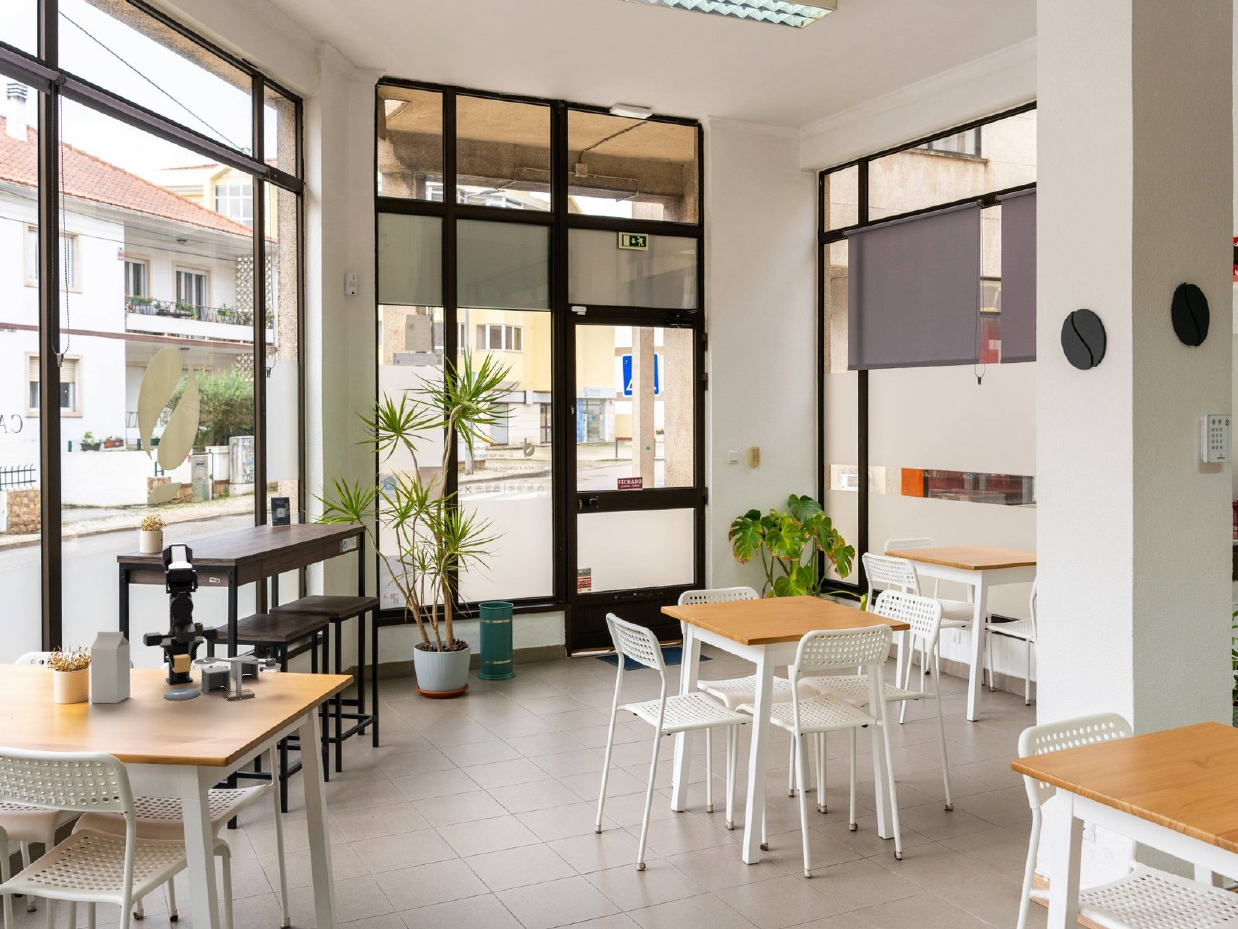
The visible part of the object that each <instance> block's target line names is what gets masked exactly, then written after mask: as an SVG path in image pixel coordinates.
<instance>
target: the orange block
mask: <svg viewBox="0 0 1238 929" xmlns="http://www.w3.org/2000/svg"><path fill="white" fill-rule="evenodd" d="M191 666H192V663H191V657H190V656H189V655H188V654H184V655H176V656H174V668H172V670H173V671H174V672H175V673H178V672H186V671H190V672H191V668H192V667H191Z"/></svg>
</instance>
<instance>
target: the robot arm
mask: <svg viewBox="0 0 1238 929" xmlns="http://www.w3.org/2000/svg"><path fill="white" fill-rule="evenodd" d="M193 551H194V550H193V549H192V548H191V547H189V546H188V544H187V543H185V542H179V543H178V542H177V543H170V544H168V547H166V548H165V549H163V550H162V552H161V554H162V555H161V561H162V562H161V563H162V567H164V574H165V594H166V595H167V594H170V595H169V631H168V632H167V633H166V634H162V633H160V631H155V632H147V633H146V632H145V633H144V634H143V636H142V644H144V646H146V647H157V646H159V648H161V649H163V663H164V664H167V663H168V677H166V678H165V681H166V682H167V683H168V684H169V685H174V684H175V685H176V684H182V683H191V682H194V679H193V677H191V676H190V675H191V674H190V673H191V671H186V672H178V673H175V672H174V671H173V670H172V668H174V656H176V655H184V654H188V655H189V656H190V657H191V664H192V663H193V662H194V661H195V660H198V657H197V653H198V649H199V647H200V645H202V644H204V643H205V641H204V639H205V640H206V641H211V640H213V641H214V640H218V639H219V631H218V629H216V628H215V627H213V626H204V624H203V622H202V621H200V622H199V621H198V622H195V623H194V621H193V611H194V607H195V606H194V603H193V596H192V593H197V589H199V576H198V573H197V571H196V570H195V569H194V568H193V562H194V556H193ZM193 569H194V570H193Z"/></svg>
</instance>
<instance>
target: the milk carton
mask: <svg viewBox="0 0 1238 929" xmlns="http://www.w3.org/2000/svg"><path fill="white" fill-rule="evenodd" d="M130 647H131V646H130V642H129V641H128V640H127V638H126V637H125V636H124V631H97V635H96V638H95V640H94V642H93V644H92V645H91V648H90V669H91V670H90V672H91V673H90V674H91V676H90V677H91V678H90V680H91V684H90V685H91V686H90V687H91V688H90V689H91V690H90V691H91V703H92V704H118V703H120V702H122V701H124V700H126V699H128V698H130V697H131V660H130V659H131V655H130V654H131V653H130V652H131V650H130Z"/></svg>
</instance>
